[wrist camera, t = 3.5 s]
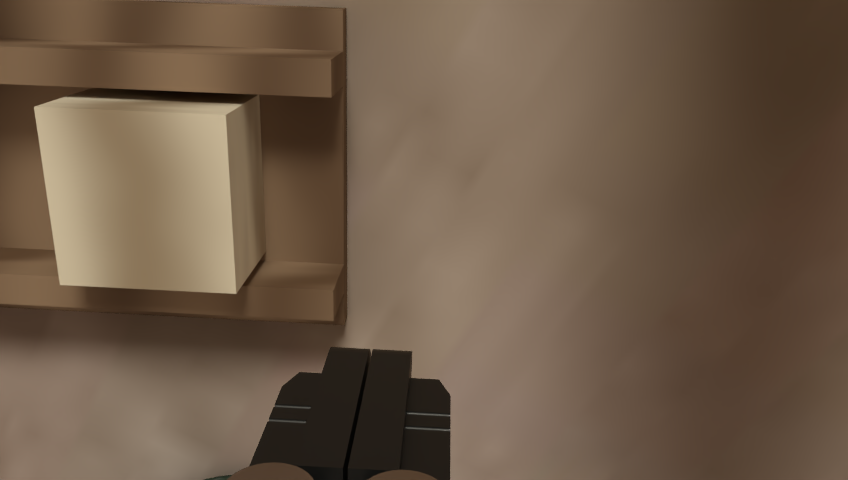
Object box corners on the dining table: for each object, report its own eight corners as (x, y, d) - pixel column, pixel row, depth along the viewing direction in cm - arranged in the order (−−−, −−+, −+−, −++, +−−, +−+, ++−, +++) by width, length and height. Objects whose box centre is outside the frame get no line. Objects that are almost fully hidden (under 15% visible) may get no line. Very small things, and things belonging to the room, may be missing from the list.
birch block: (259, 94, 27) (225, 114, 23) (265, 251, 29) (236, 293, 25) (94, 87, 27) (33, 106, 23) (112, 243, 29) (59, 284, 25)
